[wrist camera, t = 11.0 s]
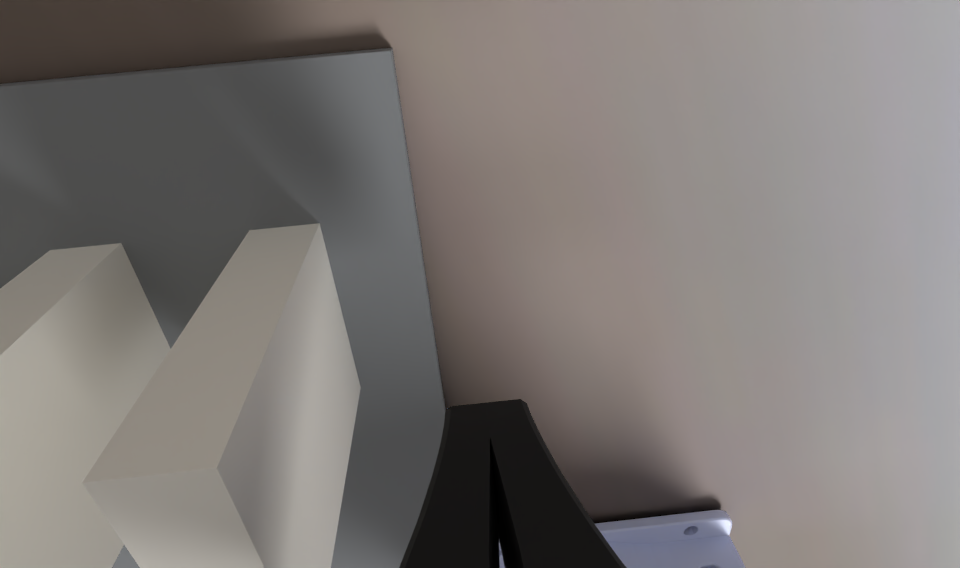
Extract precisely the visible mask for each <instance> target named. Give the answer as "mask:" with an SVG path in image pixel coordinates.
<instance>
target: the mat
mask: <svg viewBox="0 0 960 568" xmlns="http://www.w3.org/2000/svg"><path fill="white" fill-rule="evenodd" d="M317 223H320V227H321V231H322V235H323V239H324V243H325V247H326V251H327V255H328V259H329V263H330V267H331V271H332V275H333V279H334V283H335V287H336V291H337V295H338V299H339V303H340V307H341V311H342V315H343V319H344V323H345V327H346V331H347V335H348V339H349V343H350V347H351V351H352V355H353V359H354V363H355V367H356V371H357V375H358V379H359V383H360V387H361V389H360V395H359V401H358V407H357V413H356V419H355V425H354V431H353V437H352V443H351V449H350V455H349V461H348V467H347V473H346V479H345V485H344V491H343V497H342V503H341V509H340V515H339V521H338V527H337V533H336V539H335V545H334V551H333V557H332V563H331V568H399V567H400V564H401V562H402V559H403V557H404V554H405V551H406V549H407V546H408V544H409V541H410V539H411V536H412V534H413V531H414V528H415V526H416V523H417V520H418V517H419V515H420V512H421V509H422V505H423V502H424V499H425V496H426V493H427V490H428V487H429V484H430V481H431V478H432V474H433V471H434V467H435V463H436V459H437V456H438V452H439V448H440V443H441V438H442V433H443V428H444V420H445V412H446V408H445V402H444V395H443V388H442V381H441V374H440V368H439V361H438V354H437V347H436V341H435V334H434V327H433V320H432V313H431V307H430V300H429V293H428V286H427V280H426V273H425V266H424V259H423V252H422V246H421V239H420V232H419V225H418V219H417V212H416V205H415V198H414V191H413V185H412V178H411V171H410V164H409V157H408V151H407V144H406V137H405V130H404V124H403V117H402V110H401V103H400V96H399V90H398V83H397V76H396V69H395V63H394V56H393V49H392V48H383V49H372V50H361V51H350V52H339V53H329V54H318V55H307V56H296V57H285V58H275V59H264V60H253V61H242V62H231V63H221V64H210V65H199V66H188V67H177V68H167V69H156V70H145V71H134V72H123V73H113V74H102V75H91V76H80V77H69V78H59V79H48V80H37V81H26V82H15V83H5V84H0V288H2V287H3V286H4V285H6V284H7V283H8V282H9V281H11V280H12V279H13V278H15V277H16V276H17V275H19V274H20V273H21V272H22V271H24V270H25V269H26V268H28V267H29V266H30V265H31V264H33V263H34V262H35V261H37V260H38V259H39V258H40V257H42V256H43V255H44V254H46V253H47V252H48V251H50V250H57V249H67V248H77V247H87V246H97V245H107V244H117V243H121V244H122V246H123V248H124V250H125V252H126V254H127V256H128V259H129V261H130V263H131V265H132V267H133V269H134V271H135V274H136V276H137V278H138V280H139V282H140V284H141V286H142V289H143V291H144V293H145V295H146V297H147V299H148V301H149V304H150V306H151V308H152V310H153V312H154V314H155V316H156V319H157V321H158V323H159V325H160V327H161V329H162V331H163V334H164V336H165V338H166V340H167V342H168V344H169V346H170V349H171V348H172V346H173V345H174V343H175V342H176V340H177V339H178V337H179V336H180V334H181V333H182V331H183V330H184V328H185V327H186V325H187V324H188V322H189V321H190V319H191V318H192V316H193V315H194V313H195V312H196V310H197V309H198V307H199V306H200V304H201V303H202V301H203V300H204V298H205V297H206V295H207V294H208V292H209V291H210V289H211V287H212V286H213V284H214V283H215V281H216V280H217V278H218V277H219V275H220V274H221V272H222V271H223V269H224V268H225V266H226V265H227V263H228V262H229V260H230V259H231V257H232V256H233V254H234V253H235V251H236V250H237V248H238V247H239V245H240V244H241V242H242V241H243V239H244V238H245V236H246V235H247V233H248V232H249V230H257V229H267V228H277V227H287V226H297V225H307V224H317ZM112 568H140V567H139V566H138V564H137V563H136V561H135V560H134V558H133V557H132V555H131V554H130V552H129V551H128V550H127V548H126V547H125V545H124V546H123V547H122V549H121V551H120V553H119V555H118V557H117V559H116V561H115V563H114V565H113V567H112Z"/></svg>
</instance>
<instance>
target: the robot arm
mask: <svg viewBox="0 0 960 568" xmlns="http://www.w3.org/2000/svg"><path fill="white" fill-rule="evenodd" d="M731 527H732V521H731V519H730V517H729V515H728V514H727V512H726V511H723V510H709V511H701V512H692V513H683V514H674V515H666V516H657V517H648V518H639V519H631V520H622V521H613V522H604V523H596V524H594V522H593V521H592V519H591V518H590V516H589V515H588V513H587V512H586V511H585V509H584V508H583V506H582V504H581V503H580V501H579V500H578V498H577V497H576V495H575V493H574V492H573V490H572V489H571V487H570V486H569V484H568V482H567V481H566V479H565V478H564V476H563V474H562V473H561V471H560V469H559V468H558V466H557V464H556V463H555V461H554V459H553V457H552V455H551V454H550V452H549V450H548V448H547V446H546V445H545V443H544V441H543V439H542V437H541V435H540V433H539V431H538V429H537V427H536V425H535V423H534V420H533V418H532V416H531V413H530V411H529V408H528V405H527V403H525V402H524V401H522V400H521V399H518V400H508V401H499V402H489V403H480V404H470V405H461V406H452V407H450V408H449V409H448V410H447V411H446V412H445V420H444V428H443V433H442V438H441V443H440V448H439V452H438V456H437V459H436V463H435V467H434V471H433V474H432V478H431V481H430V484H429V487H428V490H427V493H426V496H425V499H424V502H423V505H422V509H421V512H420V515H419V517H418V520H417V523H416V526H415V528H414V531H413V534H412V536H411V539H410V541H409V544H408V546H407V549H406V551H405V554H404V557H403V559H402V562H401V564H400V567H399V568H746V567H745V565H744V564H743V562H742V560H741V558H740V556H739V554H738V552H737V550H736V548H735V546H734V544H733V542H732V540H731V538H730V537H729V535H730V531H731Z"/></svg>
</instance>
